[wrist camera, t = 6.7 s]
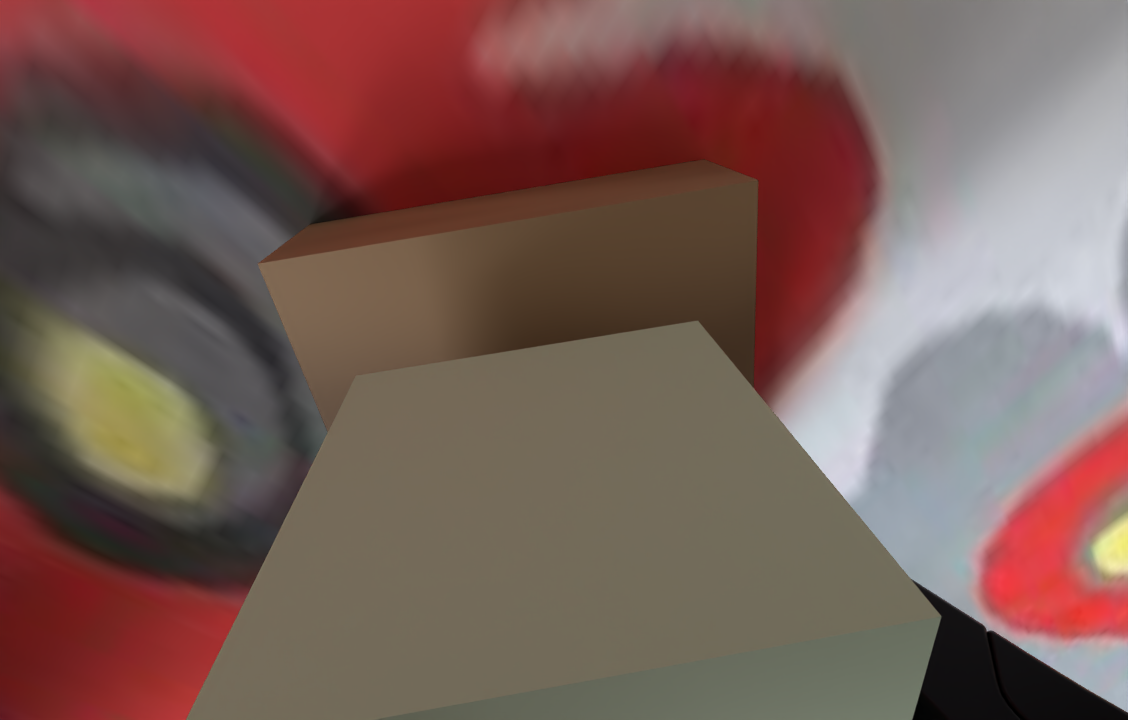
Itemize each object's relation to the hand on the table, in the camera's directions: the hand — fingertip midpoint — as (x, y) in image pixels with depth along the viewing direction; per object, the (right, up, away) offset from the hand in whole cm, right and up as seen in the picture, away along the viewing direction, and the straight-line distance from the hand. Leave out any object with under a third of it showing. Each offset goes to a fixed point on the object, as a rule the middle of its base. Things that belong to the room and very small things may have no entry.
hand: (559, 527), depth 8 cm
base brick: (0, +3, +5) cm, 6 cm away
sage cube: (0, +1, +1) cm, 1 cm away
